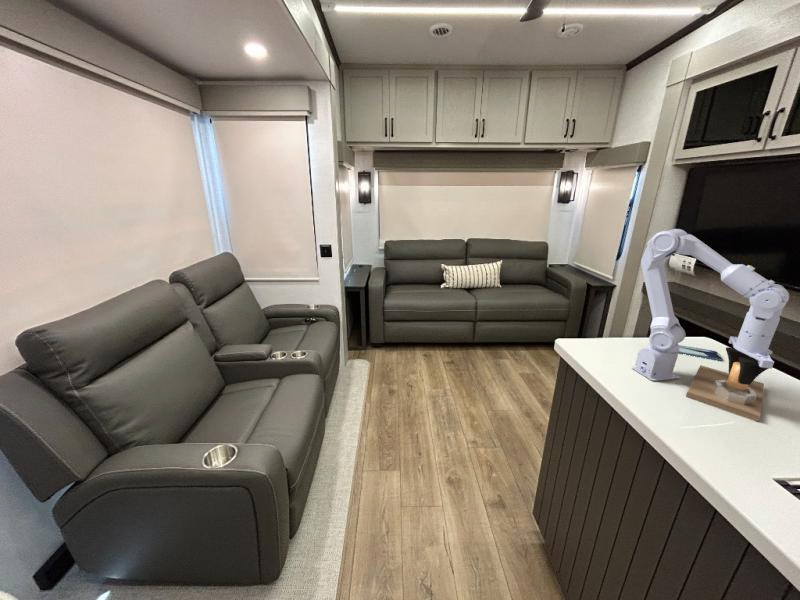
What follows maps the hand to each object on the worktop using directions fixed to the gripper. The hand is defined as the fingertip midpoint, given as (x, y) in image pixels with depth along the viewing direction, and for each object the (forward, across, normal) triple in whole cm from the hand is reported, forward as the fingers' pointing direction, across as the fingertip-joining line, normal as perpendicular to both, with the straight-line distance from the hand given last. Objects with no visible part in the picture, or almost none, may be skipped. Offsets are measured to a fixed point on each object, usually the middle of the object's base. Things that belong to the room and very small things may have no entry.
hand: (738, 379), depth 88 cm
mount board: (+7, +4, 0) cm, 8 cm away
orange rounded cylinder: (+2, 0, 0) cm, 2 cm away
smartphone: (+7, +31, -2) cm, 32 cm away
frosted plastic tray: (+5, 0, 0) cm, 5 cm away
